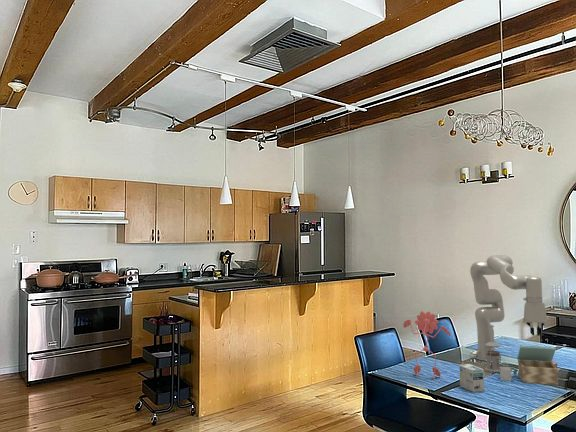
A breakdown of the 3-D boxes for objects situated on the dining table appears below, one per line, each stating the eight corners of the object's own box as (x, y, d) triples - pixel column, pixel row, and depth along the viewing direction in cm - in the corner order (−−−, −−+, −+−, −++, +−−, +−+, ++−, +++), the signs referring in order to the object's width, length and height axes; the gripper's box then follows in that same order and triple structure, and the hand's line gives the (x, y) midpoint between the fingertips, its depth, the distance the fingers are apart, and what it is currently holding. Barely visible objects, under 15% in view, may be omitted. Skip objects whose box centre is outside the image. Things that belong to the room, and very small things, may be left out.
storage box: (523, 382, 235) (522, 366, 236) (518, 374, 249) (518, 359, 249) (558, 385, 230) (557, 369, 231) (551, 377, 244) (550, 361, 244)
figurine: (450, 382, 236) (448, 314, 239) (401, 375, 250) (399, 311, 252) (455, 375, 249) (454, 310, 252) (409, 369, 263) (407, 307, 265)
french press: (505, 368, 260) (504, 324, 261) (498, 373, 251) (496, 327, 253) (487, 365, 266) (486, 322, 268) (480, 370, 258) (479, 325, 259)
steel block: (501, 380, 239) (500, 369, 239) (499, 377, 244) (499, 366, 244) (511, 381, 237) (511, 369, 238) (510, 378, 242) (509, 367, 242)
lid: (520, 347, 239) (520, 345, 240) (517, 359, 249) (517, 357, 250) (555, 349, 234) (555, 347, 235) (551, 361, 244) (551, 359, 245)
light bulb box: (485, 391, 223) (484, 368, 223) (473, 392, 221) (472, 370, 221) (470, 384, 233) (469, 363, 234) (459, 386, 231) (458, 364, 232)
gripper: (519, 300, 241) (520, 335, 240) (552, 301, 236) (554, 337, 235) (516, 298, 248) (517, 333, 247) (549, 299, 244) (550, 334, 243)
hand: (535, 334), depth 241 cm, fingers closed
